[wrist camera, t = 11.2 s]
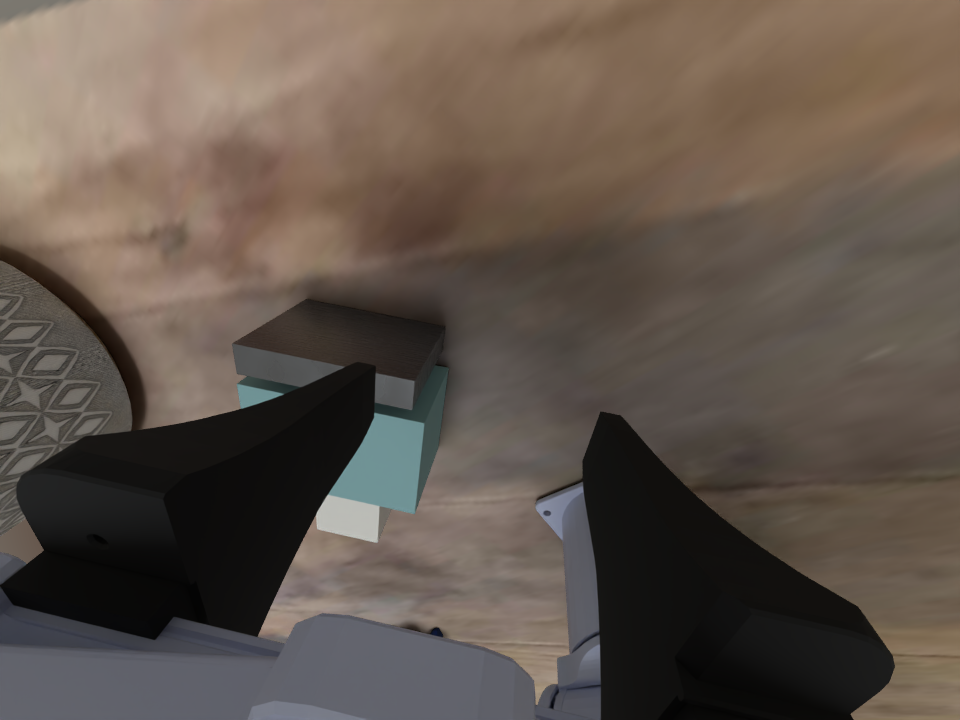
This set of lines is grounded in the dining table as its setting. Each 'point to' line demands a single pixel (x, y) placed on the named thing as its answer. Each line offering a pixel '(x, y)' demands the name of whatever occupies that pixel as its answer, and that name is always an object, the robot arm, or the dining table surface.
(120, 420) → the planter
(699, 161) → the dining table surface
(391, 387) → the wall
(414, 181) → the dining table surface
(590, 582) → the robot arm
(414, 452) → the block
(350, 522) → the peg
